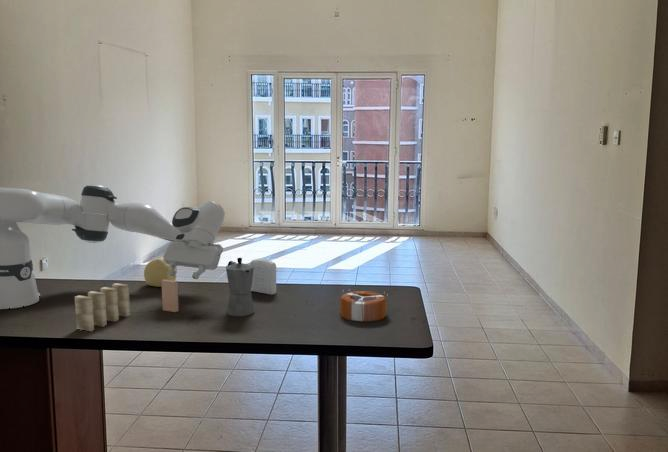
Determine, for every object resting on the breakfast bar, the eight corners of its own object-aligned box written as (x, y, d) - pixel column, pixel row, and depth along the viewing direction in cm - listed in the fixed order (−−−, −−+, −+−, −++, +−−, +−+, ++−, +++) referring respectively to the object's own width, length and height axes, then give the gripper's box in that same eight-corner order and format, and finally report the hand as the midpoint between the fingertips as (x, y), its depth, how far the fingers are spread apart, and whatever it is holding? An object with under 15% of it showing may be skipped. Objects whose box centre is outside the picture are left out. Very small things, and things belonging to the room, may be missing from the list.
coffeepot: (263, 315, 183) (262, 259, 180) (235, 320, 178) (234, 263, 175) (242, 303, 196) (241, 251, 193) (216, 307, 191) (215, 254, 188)
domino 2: (89, 324, 174) (87, 292, 172) (93, 322, 175) (91, 291, 173) (102, 326, 172) (100, 294, 170) (106, 325, 173) (104, 292, 172)
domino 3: (102, 319, 178) (100, 288, 177) (106, 318, 180) (104, 286, 178) (114, 321, 176) (113, 290, 175) (118, 320, 178) (116, 288, 176)
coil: (346, 306, 193) (389, 310, 189) (333, 320, 179) (380, 325, 175) (346, 286, 192) (390, 290, 188) (334, 299, 178) (381, 303, 174)
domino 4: (114, 314, 183) (112, 284, 181) (117, 313, 184) (115, 283, 183) (126, 316, 181) (124, 286, 179) (130, 315, 182) (128, 284, 181)
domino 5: (162, 310, 188) (161, 280, 186) (165, 308, 189) (164, 279, 188) (175, 312, 186) (174, 282, 184) (178, 310, 187) (177, 280, 186)
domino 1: (76, 329, 169) (74, 296, 167) (81, 327, 171) (78, 295, 169) (89, 331, 167) (87, 298, 166) (94, 330, 169) (92, 297, 167)
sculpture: (172, 289, 212) (171, 261, 211) (140, 289, 213) (138, 260, 211) (181, 281, 224) (180, 254, 222) (150, 281, 224) (149, 254, 222)
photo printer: (278, 292, 209) (277, 259, 207) (271, 295, 205) (270, 261, 203) (255, 288, 214) (254, 256, 212) (248, 291, 210) (247, 258, 208)
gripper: (228, 250, 197) (213, 285, 190) (179, 245, 205) (162, 278, 198) (221, 239, 193) (205, 275, 185) (170, 234, 200) (153, 268, 193)
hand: (182, 276), depth 192 cm, fingers open, 8 cm apart
